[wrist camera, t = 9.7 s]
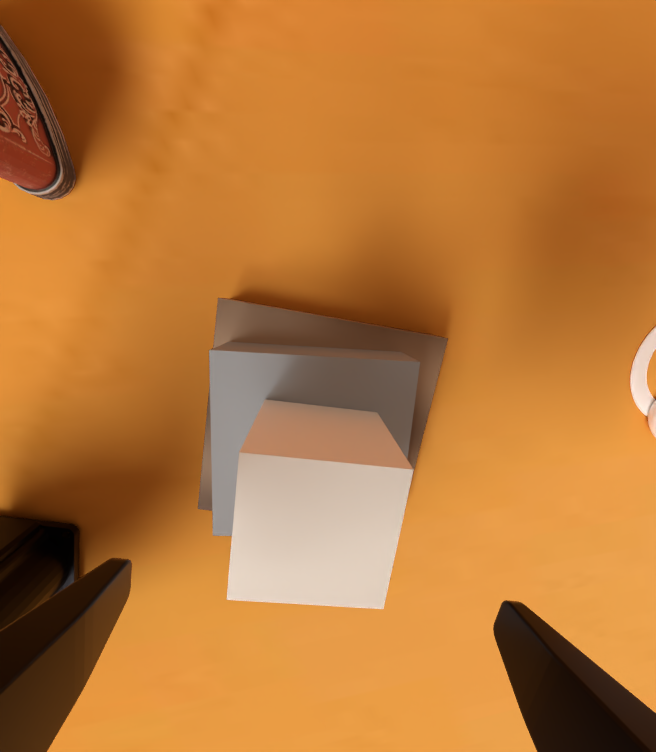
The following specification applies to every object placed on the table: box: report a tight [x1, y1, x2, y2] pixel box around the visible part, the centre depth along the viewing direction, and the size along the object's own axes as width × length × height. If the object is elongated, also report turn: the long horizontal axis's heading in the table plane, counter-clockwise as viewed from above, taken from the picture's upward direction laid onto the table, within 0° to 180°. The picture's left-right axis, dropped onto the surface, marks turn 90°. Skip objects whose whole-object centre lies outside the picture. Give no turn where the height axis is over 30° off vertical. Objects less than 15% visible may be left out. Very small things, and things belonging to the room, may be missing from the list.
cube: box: [227, 399, 413, 609], centre depth 12 cm, size 5×5×5 cm
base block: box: [198, 298, 448, 510], centre depth 19 cm, size 12×12×3 cm
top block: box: [209, 342, 420, 536], centre depth 16 cm, size 9×9×3 cm
